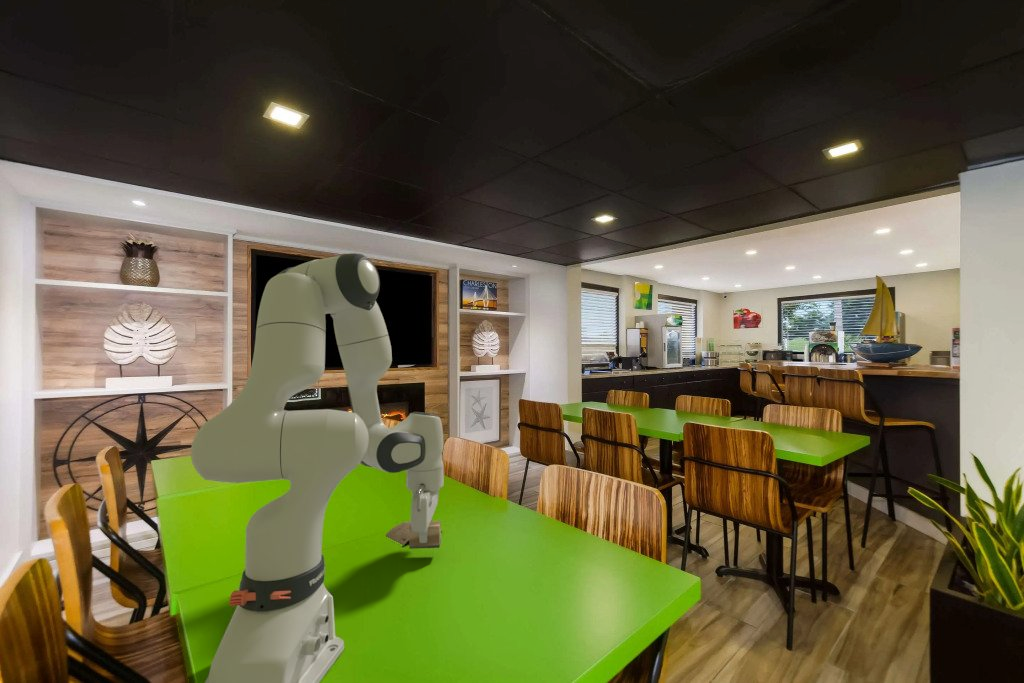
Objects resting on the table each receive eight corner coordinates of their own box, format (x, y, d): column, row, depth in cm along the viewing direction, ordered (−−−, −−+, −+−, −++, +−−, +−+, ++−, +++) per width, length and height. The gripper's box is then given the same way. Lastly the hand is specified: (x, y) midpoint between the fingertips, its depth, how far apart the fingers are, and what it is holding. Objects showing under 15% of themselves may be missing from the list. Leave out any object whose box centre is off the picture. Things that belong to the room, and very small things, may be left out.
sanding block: (439, 547, 104) (439, 526, 104) (409, 548, 103) (409, 527, 104) (440, 541, 107) (440, 521, 108) (411, 542, 107) (411, 521, 107)
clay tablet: (401, 550, 110) (401, 539, 110) (379, 539, 117) (379, 529, 117) (446, 533, 121) (446, 523, 121) (423, 524, 128) (423, 514, 128)
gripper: (432, 490, 96) (432, 555, 95) (442, 469, 117) (443, 522, 116) (403, 491, 96) (403, 556, 95) (418, 469, 116) (418, 523, 115)
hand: (425, 537), depth 106 cm, fingers closed on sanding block, 3 cm apart
